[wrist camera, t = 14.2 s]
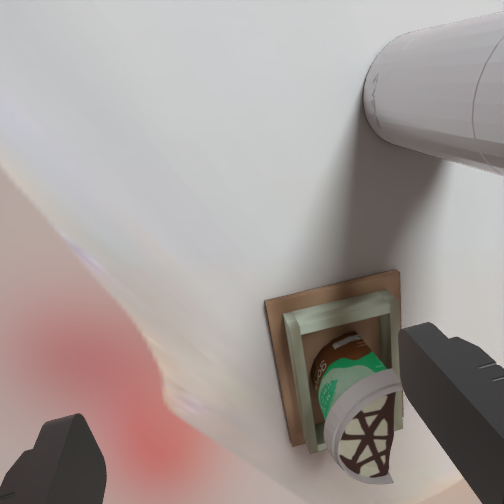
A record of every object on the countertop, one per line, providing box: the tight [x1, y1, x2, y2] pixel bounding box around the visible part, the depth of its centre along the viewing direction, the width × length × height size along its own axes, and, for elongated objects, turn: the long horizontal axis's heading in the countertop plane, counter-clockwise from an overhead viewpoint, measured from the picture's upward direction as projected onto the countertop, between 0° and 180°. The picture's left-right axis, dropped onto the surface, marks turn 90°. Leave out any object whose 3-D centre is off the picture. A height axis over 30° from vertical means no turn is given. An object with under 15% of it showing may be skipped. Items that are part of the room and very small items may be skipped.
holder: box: [265, 270, 403, 454], centre depth 43 cm, size 14×20×4 cm
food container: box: [311, 331, 403, 484], centre depth 40 cm, size 12×6×10 cm, turn 4°
